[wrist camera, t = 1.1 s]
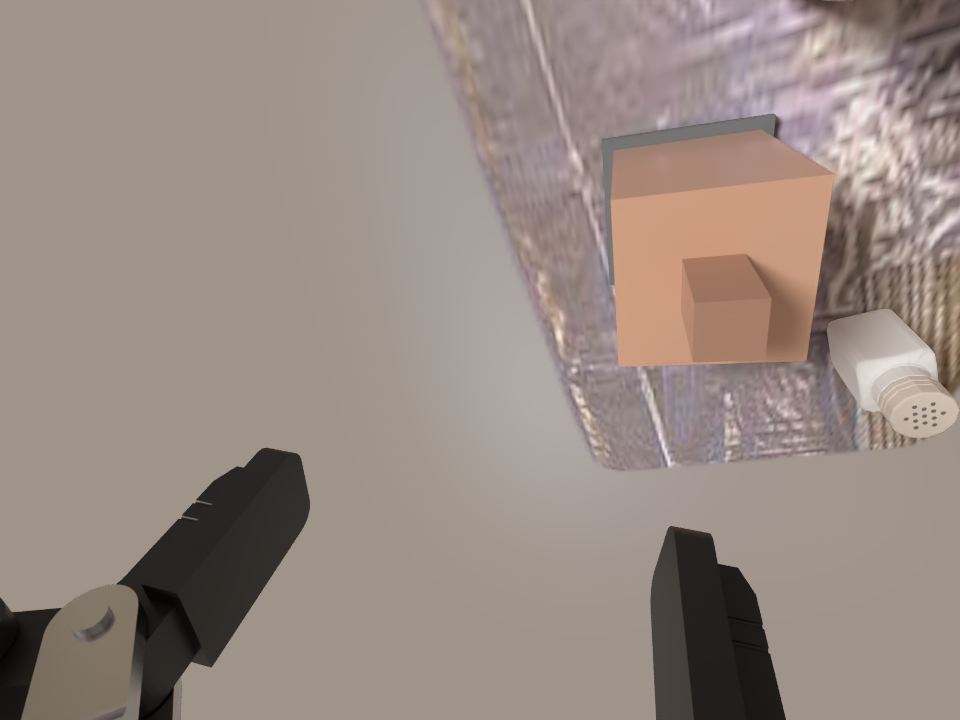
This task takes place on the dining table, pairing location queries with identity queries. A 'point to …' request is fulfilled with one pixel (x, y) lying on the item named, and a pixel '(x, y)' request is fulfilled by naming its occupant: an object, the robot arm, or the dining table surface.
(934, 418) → the salt shaker
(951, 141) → the dining table surface
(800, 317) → the orange square bottle
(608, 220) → the mat
